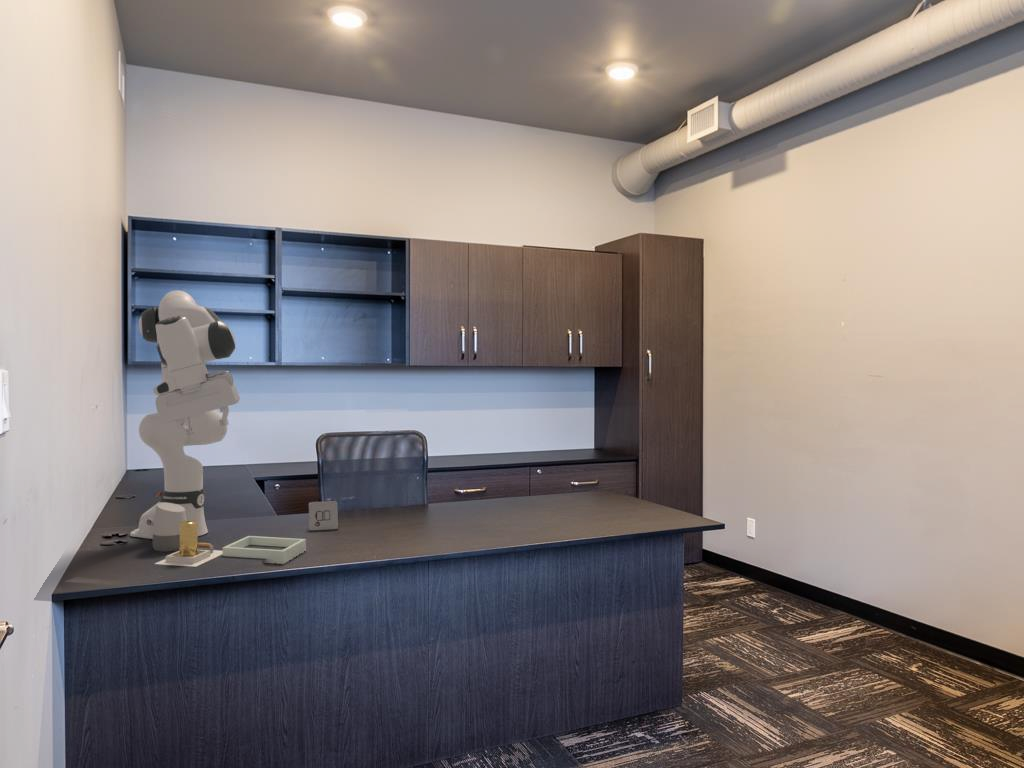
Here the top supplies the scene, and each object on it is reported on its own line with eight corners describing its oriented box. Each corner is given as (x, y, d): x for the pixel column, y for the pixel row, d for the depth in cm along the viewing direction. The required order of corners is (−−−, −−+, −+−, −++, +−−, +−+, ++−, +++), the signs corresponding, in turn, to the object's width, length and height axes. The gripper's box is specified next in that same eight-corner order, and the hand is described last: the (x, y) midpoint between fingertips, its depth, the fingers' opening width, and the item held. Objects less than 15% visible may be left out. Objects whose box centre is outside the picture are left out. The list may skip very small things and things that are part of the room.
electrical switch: (308, 531, 232) (309, 502, 233) (307, 529, 237) (307, 501, 238) (338, 529, 236) (338, 501, 236) (336, 528, 240) (336, 500, 241)
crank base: (153, 568, 188) (153, 553, 187) (189, 552, 203) (189, 539, 203) (195, 571, 186) (196, 556, 186) (228, 555, 202) (228, 541, 202)
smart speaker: (180, 556, 200) (181, 506, 200) (146, 556, 199) (147, 506, 199) (193, 547, 209) (193, 500, 209) (160, 547, 209) (161, 500, 208)
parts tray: (222, 560, 197) (222, 547, 196) (248, 547, 210) (248, 535, 210) (283, 564, 194) (283, 551, 194) (305, 551, 208) (305, 539, 208)
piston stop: (175, 560, 191) (176, 523, 190) (185, 556, 195) (186, 520, 195) (191, 561, 190) (191, 524, 190) (200, 557, 194) (200, 521, 194)
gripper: (233, 366, 184) (250, 417, 185) (158, 387, 184) (175, 438, 186) (224, 369, 178) (241, 421, 179) (146, 391, 178) (164, 443, 180)
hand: (207, 430), depth 183 cm, fingers open, 8 cm apart
